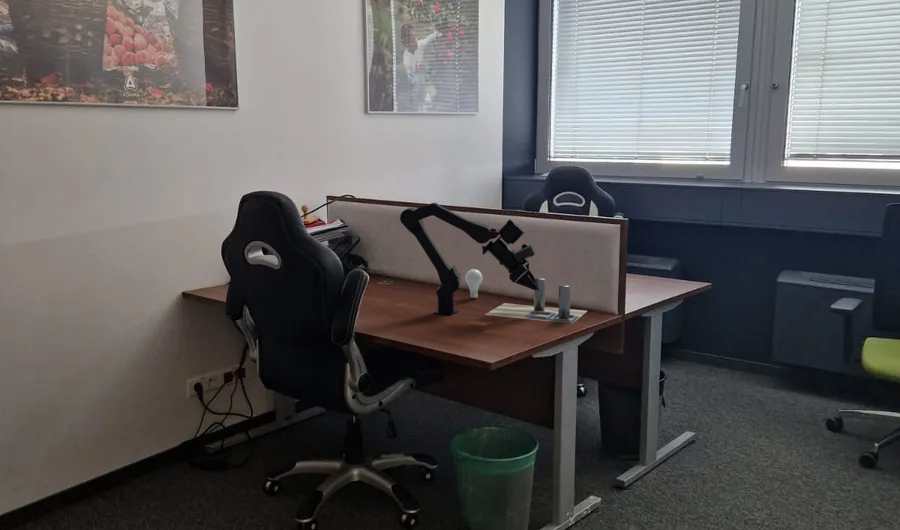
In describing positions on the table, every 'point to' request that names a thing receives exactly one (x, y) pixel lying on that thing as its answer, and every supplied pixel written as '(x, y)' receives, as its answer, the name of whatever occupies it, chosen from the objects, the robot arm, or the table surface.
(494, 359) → the table surface
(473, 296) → the lightbulb
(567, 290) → the fixed pin
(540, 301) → the pin
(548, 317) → the board
